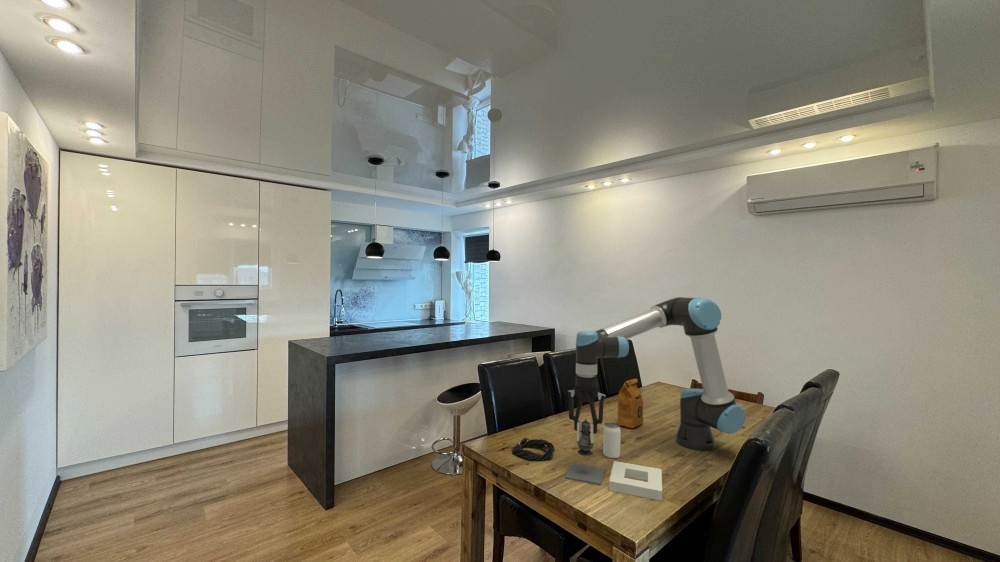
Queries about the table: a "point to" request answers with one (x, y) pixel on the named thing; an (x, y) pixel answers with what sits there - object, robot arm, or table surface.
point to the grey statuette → (585, 440)
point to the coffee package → (630, 405)
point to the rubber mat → (585, 473)
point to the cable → (537, 445)
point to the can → (611, 440)
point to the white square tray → (636, 487)
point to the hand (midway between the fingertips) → (585, 440)
